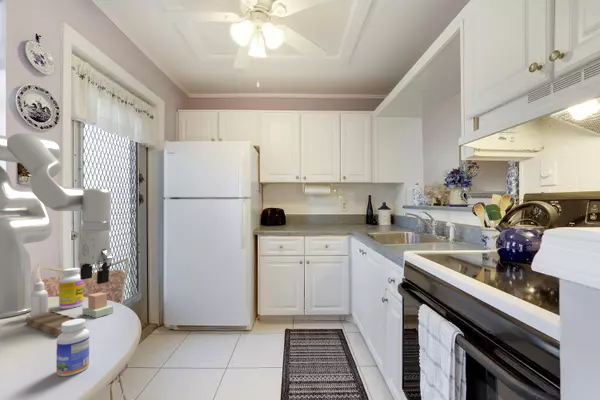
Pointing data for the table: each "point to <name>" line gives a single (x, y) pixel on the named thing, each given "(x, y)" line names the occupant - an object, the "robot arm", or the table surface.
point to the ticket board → (48, 322)
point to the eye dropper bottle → (39, 299)
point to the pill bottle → (72, 348)
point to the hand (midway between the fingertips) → (94, 280)
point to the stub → (97, 305)
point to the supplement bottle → (70, 289)
